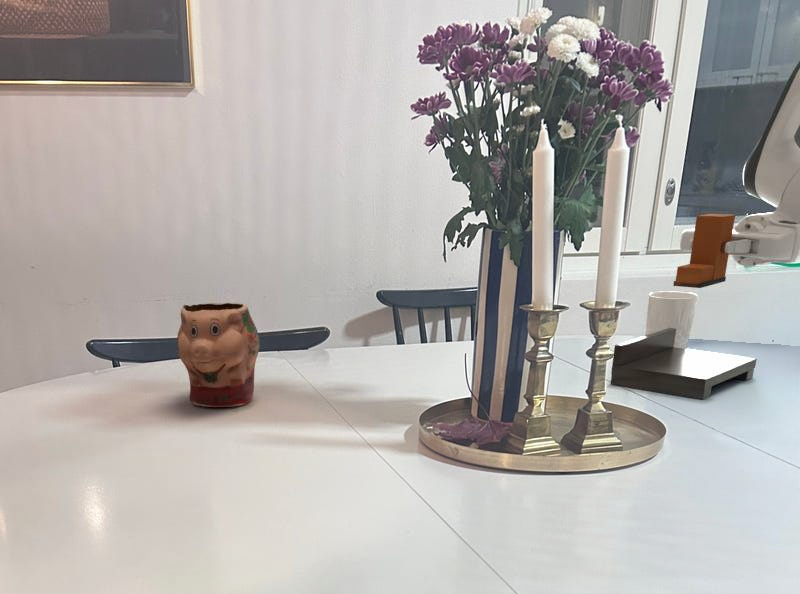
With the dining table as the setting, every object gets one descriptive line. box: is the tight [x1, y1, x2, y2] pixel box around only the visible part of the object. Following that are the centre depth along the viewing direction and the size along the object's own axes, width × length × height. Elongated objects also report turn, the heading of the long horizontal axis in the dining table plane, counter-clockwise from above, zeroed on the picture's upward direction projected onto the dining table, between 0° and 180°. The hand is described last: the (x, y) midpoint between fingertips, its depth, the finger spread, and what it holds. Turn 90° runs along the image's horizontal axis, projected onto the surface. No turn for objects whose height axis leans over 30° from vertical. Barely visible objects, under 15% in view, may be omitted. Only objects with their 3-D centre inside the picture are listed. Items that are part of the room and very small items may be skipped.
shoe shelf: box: [610, 328, 757, 400], centre depth 146 cm, size 15×18×6 cm
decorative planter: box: [176, 302, 260, 408], centre depth 141 cm, size 20×12×14 cm, turn 179°
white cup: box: [644, 291, 699, 349], centre depth 162 cm, size 8×8×10 cm
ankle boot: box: [672, 213, 736, 289], centre depth 164 cm, size 5×10×11 cm, turn 135°
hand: (708, 246), depth 165 cm, fingers closed on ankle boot, 5 cm apart
